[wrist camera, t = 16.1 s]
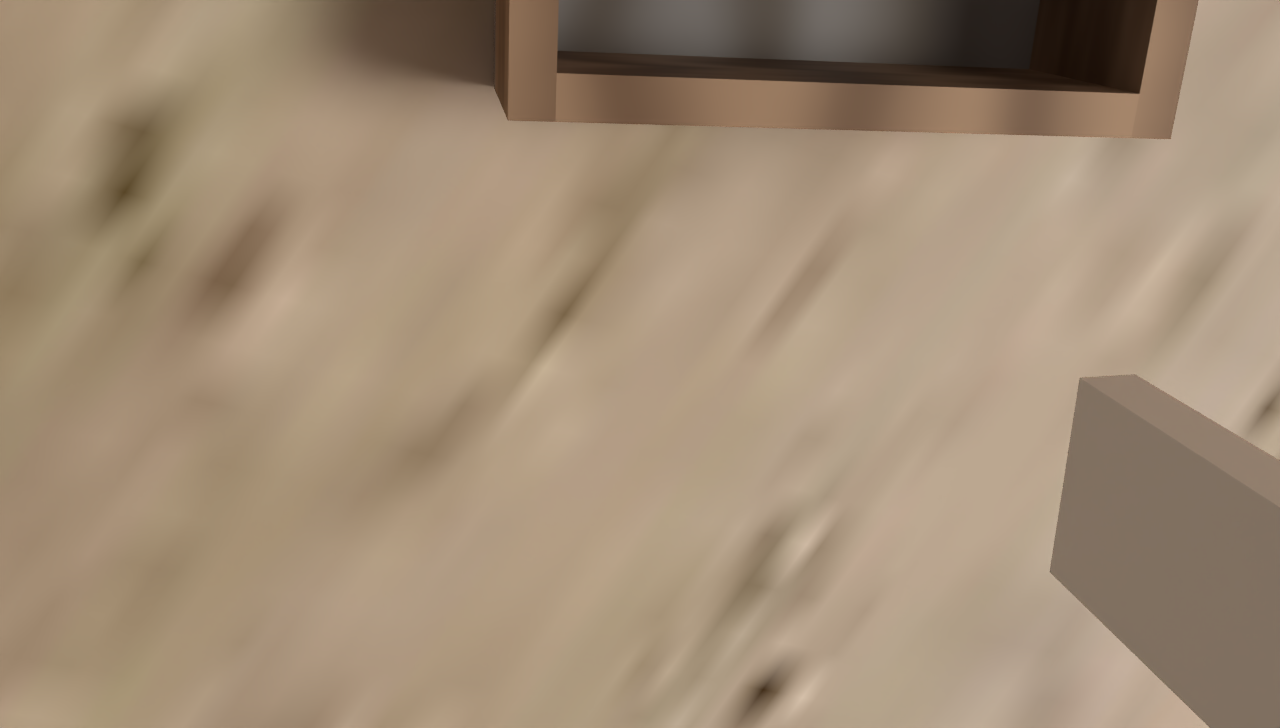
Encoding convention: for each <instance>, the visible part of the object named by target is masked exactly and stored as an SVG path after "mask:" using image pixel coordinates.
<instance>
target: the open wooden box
mask: <svg viewBox="0 0 1280 728" xmlns="http://www.w3.org/2000/svg"><path fill="white" fill-rule="evenodd" d="M1197 5H1198V0H495V30H494V88H495V91H496V93H497V95H498V98H499V100H500V103H501V105H502V107H503V110H504V112H505V115H506V117H507V119H508V120H514V121H550V122H585V123H620V124H655V125H690V126H726V127H761V128H796V129H831V130H867V131H902V132H937V133H972V134H1008V135H1043V136H1078V137H1113V138H1148V139H1171V134H1172V129H1173V124H1174V119H1175V114H1176V109H1177V104H1178V99H1179V94H1180V89H1181V84H1182V79H1183V75H1184V70H1185V65H1186V60H1187V55H1188V50H1189V45H1190V40H1191V35H1192V30H1193V25H1194V20H1195V15H1196V10H1197Z"/></svg>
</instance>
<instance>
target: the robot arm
mask: <svg viewBox="0 0 1280 728" xmlns="http://www.w3.org/2000/svg"><path fill="white" fill-rule="evenodd" d="M1050 573H1051V574H1052V575H1053V576H1054V577H1055V578H1056V579H1057V580H1059V581H1060V582H1061V583H1062V584H1063V585H1064V586H1065V587H1066V588H1067V589H1068V590H1069V591H1070V592H1071V593H1072V594H1073V595H1074V596H1075V597H1076V598H1077V599H1078V600H1079V601H1080V602H1081V603H1082V604H1083V605H1084V606H1085V607H1086V608H1087V609H1088V610H1089V611H1090V612H1091V613H1092V614H1094V615H1095V616H1096V617H1097V618H1098V619H1099V620H1100V621H1101V622H1102V623H1103V624H1104V625H1105V626H1106V627H1107V628H1108V629H1109V630H1110V631H1111V632H1112V633H1113V634H1114V635H1115V636H1116V637H1117V638H1118V639H1119V640H1120V641H1121V642H1122V643H1123V644H1124V645H1125V646H1126V647H1127V648H1128V649H1130V650H1131V651H1132V652H1133V653H1134V654H1135V655H1136V656H1137V657H1138V658H1139V659H1140V660H1141V661H1142V662H1143V663H1144V664H1145V665H1146V666H1147V667H1148V668H1149V669H1150V670H1151V671H1152V672H1153V673H1154V674H1155V675H1156V676H1157V677H1158V678H1159V679H1160V680H1161V681H1162V682H1163V683H1165V684H1166V685H1167V686H1168V687H1169V688H1170V689H1171V690H1172V691H1173V692H1174V693H1175V694H1176V695H1177V696H1178V697H1179V698H1180V699H1181V700H1182V701H1183V702H1184V703H1185V704H1186V705H1187V706H1188V707H1189V708H1190V709H1191V710H1192V711H1193V712H1194V713H1195V714H1196V715H1197V716H1198V717H1199V718H1201V719H1202V720H1203V721H1204V722H1205V723H1206V724H1207V725H1208V726H1209V727H1210V728H1280V460H1278V459H1276V458H1275V457H1273V456H1271V455H1270V454H1268V453H1266V452H1264V451H1263V450H1261V449H1259V448H1258V447H1256V446H1254V445H1253V444H1251V443H1249V442H1248V441H1246V440H1244V439H1243V438H1241V437H1239V436H1238V435H1236V434H1234V433H1233V432H1231V431H1229V430H1228V429H1226V428H1224V427H1222V426H1221V425H1219V424H1217V423H1216V422H1214V421H1212V420H1211V419H1209V418H1207V417H1206V416H1204V415H1202V414H1201V413H1199V412H1197V411H1196V410H1194V409H1192V408H1191V407H1189V406H1187V405H1185V404H1184V403H1182V402H1180V401H1179V400H1177V399H1175V398H1174V397H1172V396H1170V395H1169V394H1167V393H1165V392H1164V391H1162V390H1160V389H1159V388H1157V387H1155V386H1154V385H1152V384H1150V383H1149V382H1147V381H1145V380H1143V379H1142V378H1140V377H1138V376H1137V375H1118V376H1101V377H1084V378H1080V379H1079V386H1078V392H1077V399H1076V405H1075V412H1074V418H1073V425H1072V431H1071V437H1070V444H1069V450H1068V457H1067V463H1066V470H1065V476H1064V483H1063V489H1062V496H1061V502H1060V509H1059V515H1058V522H1057V528H1056V535H1055V541H1054V547H1053V554H1052V560H1051V567H1050Z"/></svg>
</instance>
